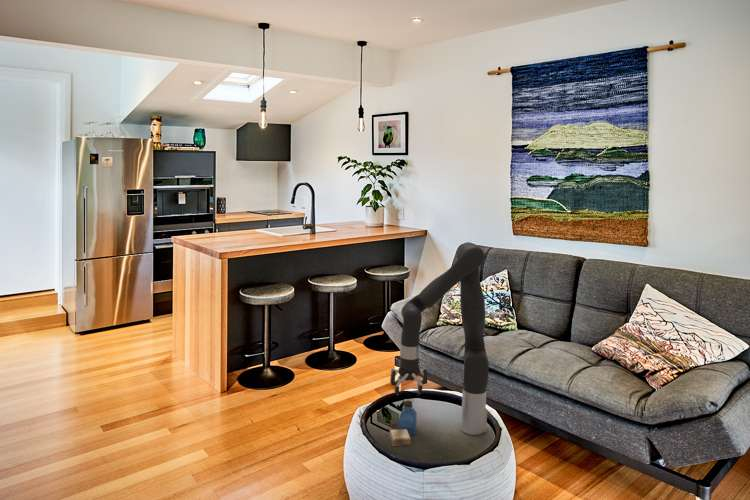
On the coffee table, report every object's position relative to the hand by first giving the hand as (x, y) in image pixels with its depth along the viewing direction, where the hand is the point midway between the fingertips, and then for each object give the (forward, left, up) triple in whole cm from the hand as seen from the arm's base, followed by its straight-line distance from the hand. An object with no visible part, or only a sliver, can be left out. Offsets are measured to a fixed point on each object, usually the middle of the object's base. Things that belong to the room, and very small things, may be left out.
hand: (408, 394), depth 213 cm
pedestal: (+4, +8, -15) cm, 18 cm away
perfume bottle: (0, 0, -16) cm, 16 cm away
